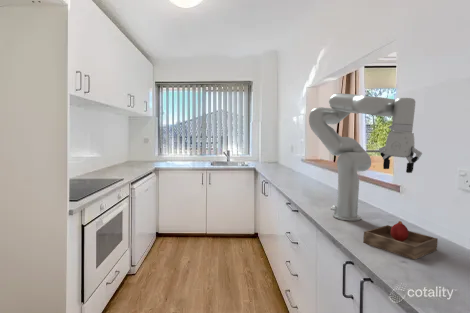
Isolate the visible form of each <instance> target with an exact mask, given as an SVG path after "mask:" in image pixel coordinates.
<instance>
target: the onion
mask: <svg viewBox="0 0 470 313" xmlns="http://www.w3.org/2000/svg"><path fill="white" fill-rule="evenodd" d="M391 226H392V228H391V236H392V237H393V238H394V239H395V240H397V241H400V242H403V241H405V240H406V239H407V238H408V235H409V232H408V231H409V230H408V227H407V226H406V225H405V224H404V223H403V222H402V221H400V220H399V221H398V222H396V223H395V224H394V225H391Z"/></svg>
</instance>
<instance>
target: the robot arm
mask: <svg viewBox="0 0 470 313" xmlns="http://www.w3.org/2000/svg"><path fill="white" fill-rule="evenodd" d="M328 105H329V107H321V106H320V107H315V108H313V109H312V110H311V111H310V112H309V116H308V123H309V124H308V125H309V126H310V129H311V130H312V132H313V133H314V134H315V135H316V136H317V138H318V139H319V141H321V143H322V144H323V145H324V147H325V148H326V149H327V150H328V152H329V153H330V154H331V155H332V156H335V157H337V159H336V167H337V175H338V176H337V195H336V196H337V197H336V205H331V207H330V210H331V211H334V212H333V213H332V217H333V218H335V219H337V220H341V221H350V222H356V221H357V222H358V221H360V220H361V219H362V218H361V216H360V215H359V214H358V208H359V195H360V194H359V193H360V192H359V191H360V178H359V174H358V172H365V171H367V170H369V169H370V168H371V167H372V157H370V156H371V155H370V154H369V153H368V152H367V151H366V150H365V148H363V147H362V146H361V144H360V143H359V142H358V141H357V140H356V139H355V138H353V137H349V136H348V137H347V136H341V135H340V134H338V132H336V130H335V129H334V128H333V127H331V125H336V124H339V123H340V122H342V121H343V120H344V119H345V118H346V117H348V116H349V115H350V114H356V115H357V114H364V115H370V116H378V117H388V118H392V122H391V125H389V126H388V129H389V130H390V131H389V132H388V134H387V137H386V141H385V145H384V146H382V147H380V148H379V149H378V151H379V154H380V156H381V158H382V160H383V163H382V164H383V170H389V169H390V165H391V159H390V158H391V157H395V158H396V157H397V158H403V159H404V158H405V159H406V160H407V163H406V169H405V170H406V171H405V173H407V174H412V173H413V171H414V165H415V163H416V162H417V161H418V160H419V159H420V158H421V157H422V155H423V153H422V151H420V150H418V148H415V135H414V133H413V128H414V118H415V112H416V111H415V109H416V100H415V98H412V97H398V98H395V99H394V98H388V97H379V96H368V95H361V94H353V93H334V94H333V95H331V97H330V98H329V100H328ZM414 155H415V156H414Z"/></svg>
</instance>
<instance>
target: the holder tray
mask: <svg viewBox="0 0 470 313" xmlns="http://www.w3.org/2000/svg"><path fill="white" fill-rule="evenodd" d="M392 226H393V225H389V224H388V225H383V226H379V227H375V228H372V229H368V230H365V231H363V240H362V241H363V243H364V244H367V245H370V246H372V247H375V248H378V249H382V250H384V251H388V252H390V253H394V254H396V255H399V256H403V257H406V258H408V259H412V260H417V259H419V258H422V257H425V256H426V255H428V254H431V253H434V252H436V251H437V249H438V240H439V239H438V238H437V237H433V236H430V235H426V234H421V233H418V232H415V231H412V230H408V232H409V235H408V238H407V239H406V240H405V241H403V242H400V241H397V240H395V239H394V238H393V237H392V236H391V228H392Z"/></svg>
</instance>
